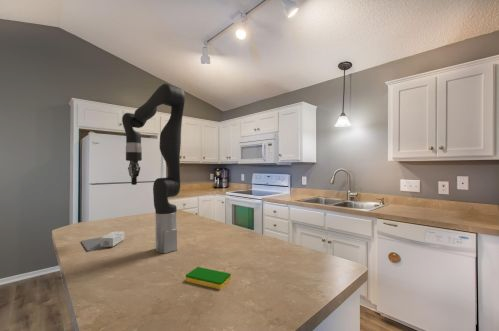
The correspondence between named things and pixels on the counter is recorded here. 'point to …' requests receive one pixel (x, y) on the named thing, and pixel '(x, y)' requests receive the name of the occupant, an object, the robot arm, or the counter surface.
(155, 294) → the counter surface
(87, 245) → the mat
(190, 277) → the dish sponge
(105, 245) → the skincare box
